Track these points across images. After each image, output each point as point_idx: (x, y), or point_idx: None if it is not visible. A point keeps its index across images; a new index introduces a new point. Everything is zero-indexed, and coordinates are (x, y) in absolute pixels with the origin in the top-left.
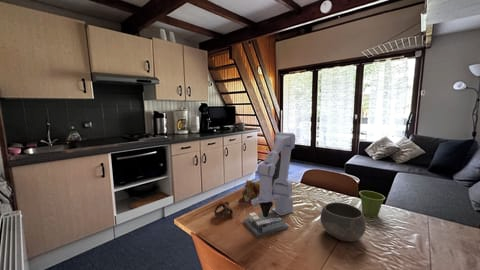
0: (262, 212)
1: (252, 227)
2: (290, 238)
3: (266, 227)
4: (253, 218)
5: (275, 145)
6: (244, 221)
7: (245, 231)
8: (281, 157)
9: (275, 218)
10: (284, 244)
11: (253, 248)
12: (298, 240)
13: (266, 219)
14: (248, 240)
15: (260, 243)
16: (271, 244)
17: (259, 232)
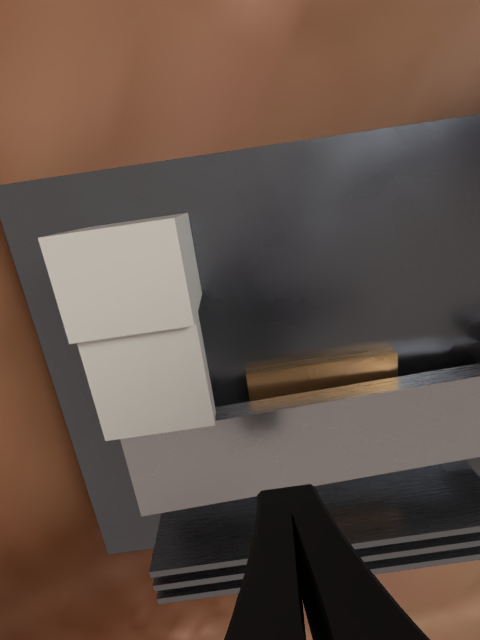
0: (252, 544)
1: (86, 422)
2: (409, 591)
3: (221, 583)
4: (94, 398)
5: None
6: (10, 231)
7: (10, 395)
8: None
9: (475, 400)
10: (311, 635)
11: (37, 622)
12: (452, 623)
13: (325, 403)
14: (14, 532)
15: (117, 587)
16: (207, 615)
17: (140, 525)
